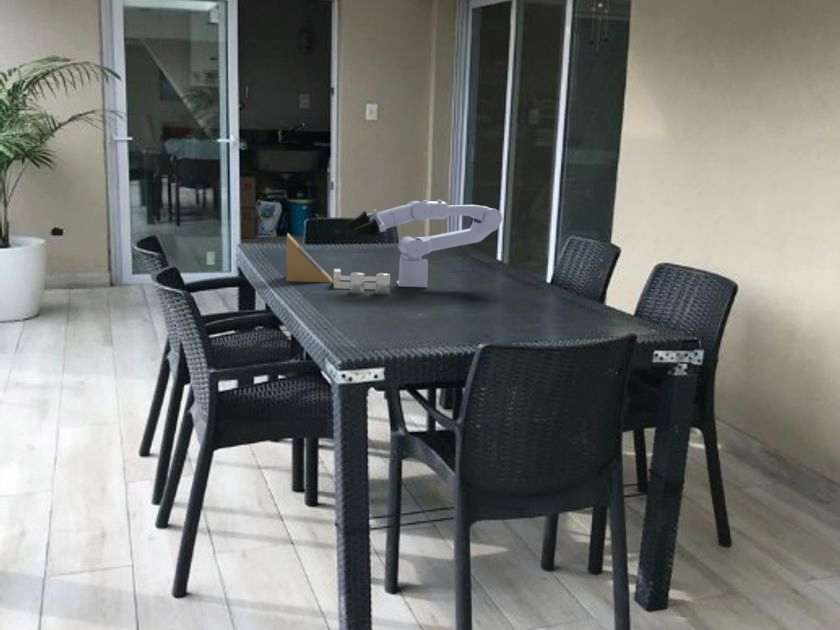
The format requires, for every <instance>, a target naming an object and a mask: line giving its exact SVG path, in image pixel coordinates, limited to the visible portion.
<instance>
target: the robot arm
mask: <svg viewBox="0 0 840 630" xmlns="http://www.w3.org/2000/svg"><path fill="white" fill-rule="evenodd" d="M448 216H465V217H468V216H469V217H471V218H473V219H472V223H471V225H470V227H469V228H466V229H460V230H455V231H451V232H443V233H440V234H435V235H429V236H428V235H427V236H416V237H414V236H408V235H406V236H403V237H402V238H400V240H399V241H398V245H397V247H398V251H399V252H400V255H399V266H398V268H399V269H398V280H396V284H397V286H398V287H401V288H402V287H406V288H428V281H429V280H428V277H429V275H428V274H429V261H428V259H426V258H423V256H426V255H429V254H430V253H431V252H434V251H439V250H445V249H449V248H454V247H459V246H466V245H469V244H470V245H471V244H474V243H479V242H482V241H483V240H484V239H485V238H486V237H488V236H489V235H490V234H491V233H492V232H494V231H496V230H498V229H499V227H500V225H501V223H502V219H503V216H502V213H501V212H500V210H498V209H497V208H491V207H489V206H486V205H477V204H457V205H456V204H452V205H449V204H447V202H446V201H443V200H442V199H436V201H428V200H427V199H424V200H422V201H418V200H411V201H408V203H407V204H404V205H400V206H395V207H392V208H389V209H385V210H382V211H378V210H377V209H373V213H372V212H369V213H367V211H363V212H361V213H360V215H358V216H356V218H354V219H351V220H350V221H348V222H347V227H348V230H353V231H354V234H355V236H356V237H359V236H360V237H361V236H373V237H374V236H375V237H380V235H379V232H380V233H383V232H386V231H387V229H390V228H393V227H397V226H400V225H403V224H406V223H409V222H412V221H415V220H416V221H421V222H422V221H424V220H445V219H446V218H448Z"/></svg>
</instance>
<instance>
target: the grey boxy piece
mask: <svg viewBox="0 0 840 630" xmlns="http://www.w3.org/2000/svg"><path fill="white" fill-rule="evenodd" d="M332 277H333V278H332V280H333V282H332V283H333V289H347V290H348V289H349V290H350V275H342V271H341V268H333V276H332ZM364 290H376V276H365V281H364Z"/></svg>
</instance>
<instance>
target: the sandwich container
mask: <svg viewBox="0 0 840 630" xmlns="http://www.w3.org/2000/svg"><path fill="white" fill-rule="evenodd" d="M285 264H286V265H285V269H286V270H285V271H286V273H285V281H286V282H299V283H301V282H304V283H306V282H307V283H333V280H334V279H333V278H332V276H330V275H329V274H328V273H327V272H326V271H325V270H324V268H323V267H322V266H320V264H319V263H318V262H317V261H316V260H315V259H313V257H312V256H311V255H310V254H309V253H308V252H307V251H306V250H305V249H304V247H302V246H301V245H300V244H299V243H298V242H297V241H296V239H294V237H293V236H292V235H291V234H290V233H289V232H287V233H286V262H285Z"/></svg>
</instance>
